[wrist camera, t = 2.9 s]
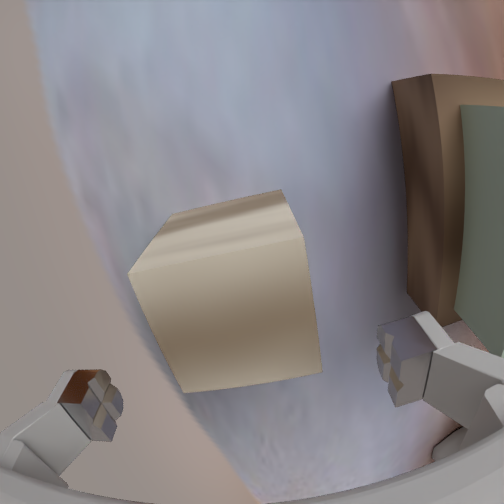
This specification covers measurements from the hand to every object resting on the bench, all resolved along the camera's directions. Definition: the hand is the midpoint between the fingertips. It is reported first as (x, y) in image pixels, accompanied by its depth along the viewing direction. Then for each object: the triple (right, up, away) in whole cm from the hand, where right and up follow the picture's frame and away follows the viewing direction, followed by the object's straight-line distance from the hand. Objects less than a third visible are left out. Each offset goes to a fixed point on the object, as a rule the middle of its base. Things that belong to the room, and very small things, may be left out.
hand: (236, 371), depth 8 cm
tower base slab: (+13, +7, +5) cm, 16 cm away
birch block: (0, +3, +6) cm, 7 cm away
